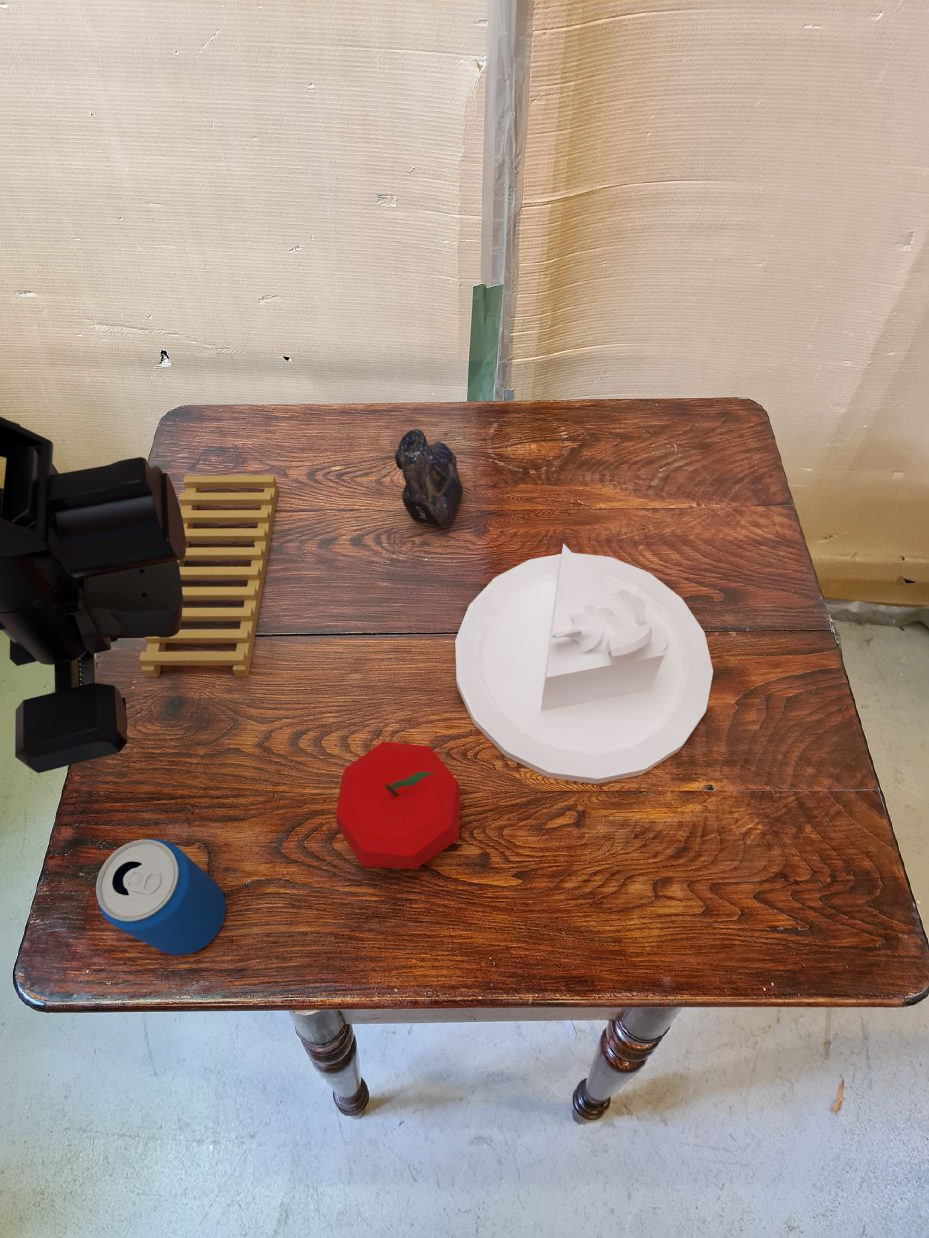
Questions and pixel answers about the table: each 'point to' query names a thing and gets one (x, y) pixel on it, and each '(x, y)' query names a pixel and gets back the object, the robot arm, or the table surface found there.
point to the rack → (220, 571)
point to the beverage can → (160, 897)
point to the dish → (583, 667)
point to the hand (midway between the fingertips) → (114, 689)
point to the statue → (428, 480)
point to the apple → (398, 806)
